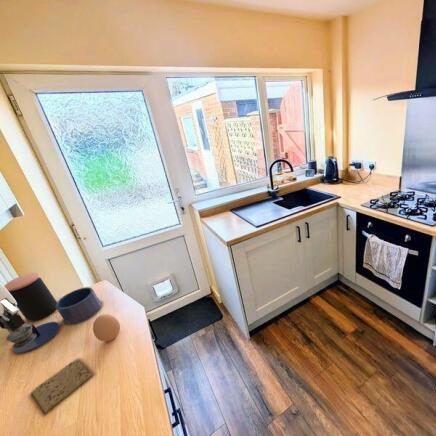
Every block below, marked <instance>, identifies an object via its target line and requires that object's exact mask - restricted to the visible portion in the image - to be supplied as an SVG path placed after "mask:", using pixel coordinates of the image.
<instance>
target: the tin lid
mask: <svg viewBox="0 0 436 436" xmlns="http://www.w3.org/2000/svg"><path fill="white" fill-rule="evenodd" d="M30 325H31V326H32V333H35V334H36V338H35V339H34V340H33V341H32V342H30V343H29V344H27V345H25V346H23V347H20V348H15V347H14V344H13V345H12V351H13V352H14V353H15V354H24V353H27V352H31V351H32V350H35V349H37V348H39V347H41V346H43V345H44V344H45V343H47V342H49V341H50V340H51V339H52V338H53V337H54V336H56V334H57V333H58V332H59V330H60V326H61V325H60V324H59V322H57V321H50V322H45V323H42V324H40V325H38V326H36V325H34V324H33V323H31V324H30Z"/></svg>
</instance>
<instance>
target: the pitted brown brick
mask: <svg viewBox="0 0 436 436" xmlns="http://www.w3.org/2000/svg"><path fill="white" fill-rule="evenodd" d="M91 377H92V373H91V372H89V371H88V370H87V369H86V368H85V366H83V364H81V363H80V361H79V360H78V359H75V360H73V361H71V362H70V363H68V364H67V365H65V366H64V367H63V368H62V369H61V370H59V371H58V372H56V374H54V375H53V376H51V377H49V378H48V379H47V380H45V381H44V382H42V383H41V384H39V385H38V386H37V387H36V388H35V389H34V390H32V391H31V394H32V396H33V397H34V399H35V400H36V402H37V404H38V405H39V407H40V408H41V410H42V411H43V413H45V414H46V413H48V412H49V411H50V410H51V409H53V408H54V407H55V406H56V405H57V404H59V402H61V401H63V400H64V399H65V398H66V397H68V396H69V395H70V394H71V393H72V392H74V391H75V390H76V389H77V388H78V387H79V386H81V385H82V384H83V383H85V382H86V381H87V380H89V379H91Z"/></svg>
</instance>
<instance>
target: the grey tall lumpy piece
mask: <svg viewBox="0 0 436 436" xmlns="http://www.w3.org/2000/svg"><path fill="white" fill-rule="evenodd" d="M5 314H6V313H5ZM6 315H7V314H6ZM0 320H1V322H2V323H3V324H4V326H5V327H4V329H3V330H7V331H8V333H9V334H8V335H7V336H6V341H7V342H10V343H13V345H14V347H15V348H20V347H23V346H25V345H27V344H29V343H30V342H32V341H33V340H34V339H35V338H36V334H35V333H32V326H31V325H32V324H27V325H22V326H21V327H19V328H18V329H16V330H15V331H11V329H10V328H9V327H8V326H7V324H6V323H5V321H6V320H5V319H4V318H3V317H2V318H1V319H0Z"/></svg>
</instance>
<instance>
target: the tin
mask: <svg viewBox="0 0 436 436" xmlns="http://www.w3.org/2000/svg"><path fill="white" fill-rule="evenodd" d="M55 307H56V311H57V312H58V313H59V314H60V316H61V318H62V320H63V321H64V322H65V324H67V325H76V324H79V323H82V322H84V321H87V320H88V319H90V318H92V317H93V316H95V314H97V313H98V312H99V311H100V309H101V307H102V302H101V301H100V299H99V298H98V295H97V294H96V292H95V290H94V288H92V287H89V286H87V287H81V288H78V289H75V290H72V291H70V292H69V293H66V294H65V295H63V296H62V297H61V298H59V300H57V303H56V305H55Z"/></svg>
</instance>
